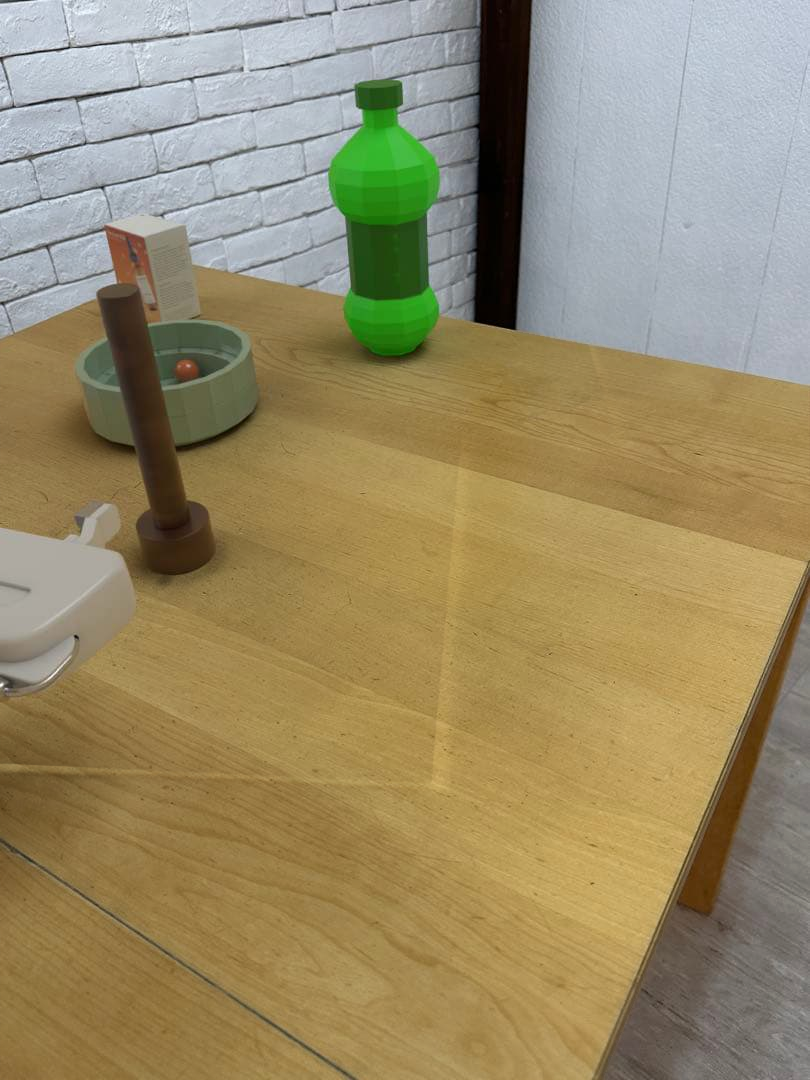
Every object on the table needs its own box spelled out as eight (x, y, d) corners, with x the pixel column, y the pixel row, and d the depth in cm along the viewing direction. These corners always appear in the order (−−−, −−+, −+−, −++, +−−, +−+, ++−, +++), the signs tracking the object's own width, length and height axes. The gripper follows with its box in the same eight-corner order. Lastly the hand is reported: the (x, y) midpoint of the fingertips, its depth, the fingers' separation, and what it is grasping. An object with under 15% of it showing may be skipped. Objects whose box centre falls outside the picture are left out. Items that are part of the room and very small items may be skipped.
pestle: (134, 573, 65) (59, 306, 53) (157, 532, 69) (92, 275, 58) (204, 575, 64) (145, 305, 53) (223, 533, 69) (171, 274, 57)
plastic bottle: (347, 328, 100) (325, 76, 85) (443, 325, 99) (437, 71, 85) (339, 367, 92) (312, 96, 77) (443, 364, 91) (436, 91, 76)
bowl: (64, 453, 80) (46, 392, 76) (125, 375, 92) (111, 319, 89) (237, 455, 78) (226, 392, 75) (275, 375, 91) (267, 318, 87)
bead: (173, 388, 88) (168, 365, 86) (180, 377, 90) (175, 355, 88) (197, 388, 87) (192, 365, 86) (204, 377, 89) (199, 355, 88)
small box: (123, 314, 106) (101, 223, 100) (163, 300, 109) (144, 211, 103) (162, 330, 102) (142, 236, 95) (203, 315, 105) (186, 223, 99)
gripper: (3, 654, 36) (185, 479, 47) (-343, 564, 43) (-115, 427, 53) (46, 759, 40) (206, 575, 51) (-278, 662, 46) (-77, 516, 57)
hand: (39, 499), depth 52 cm, fingers open, 8 cm apart
